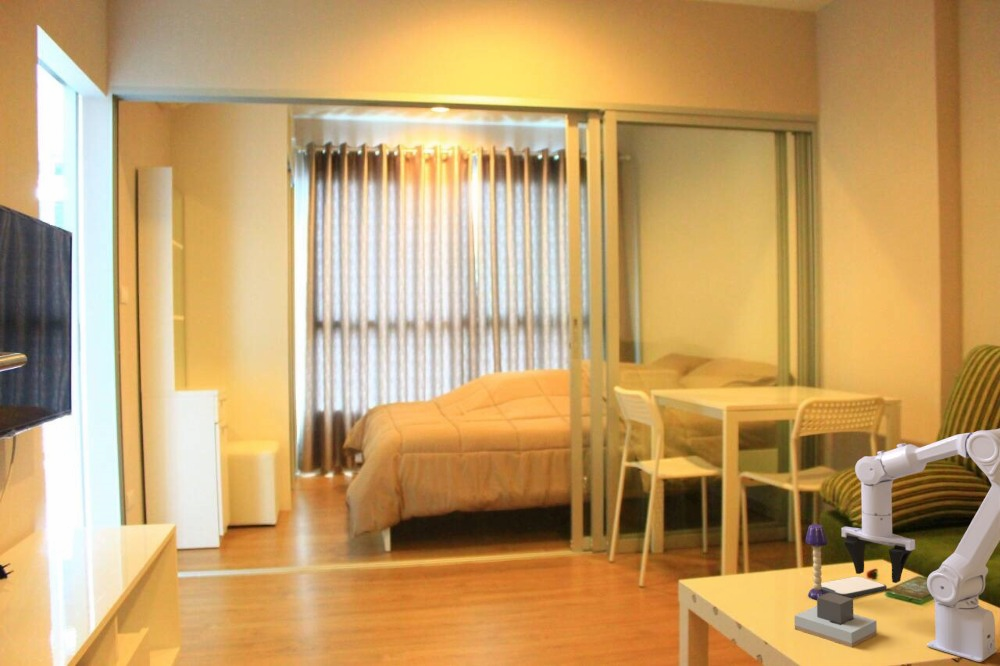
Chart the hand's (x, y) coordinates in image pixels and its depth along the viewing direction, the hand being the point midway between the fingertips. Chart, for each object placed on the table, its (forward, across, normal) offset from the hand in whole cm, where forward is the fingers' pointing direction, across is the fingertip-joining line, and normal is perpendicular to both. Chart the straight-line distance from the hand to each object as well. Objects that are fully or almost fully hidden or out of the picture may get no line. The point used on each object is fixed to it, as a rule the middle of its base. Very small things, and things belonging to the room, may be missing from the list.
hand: (877, 577), depth 159 cm
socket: (+9, +3, +12) cm, 16 cm away
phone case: (+10, +14, -15) cm, 23 cm away
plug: (+8, +3, +12) cm, 15 cm away
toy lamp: (+10, +16, -4) cm, 19 cm away
